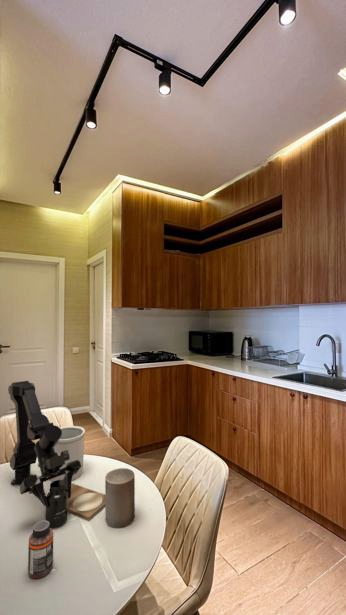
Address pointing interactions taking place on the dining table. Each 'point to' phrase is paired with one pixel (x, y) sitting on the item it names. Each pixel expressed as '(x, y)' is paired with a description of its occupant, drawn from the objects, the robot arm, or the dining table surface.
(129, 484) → the pillar candle
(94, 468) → the dining table surface
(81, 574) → the dining table surface
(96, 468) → the dining table surface
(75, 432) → the utensil holder
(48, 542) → the supplement bottle
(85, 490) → the board
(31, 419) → the robot arm
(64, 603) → the dining table surface
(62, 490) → the supplement bottle
